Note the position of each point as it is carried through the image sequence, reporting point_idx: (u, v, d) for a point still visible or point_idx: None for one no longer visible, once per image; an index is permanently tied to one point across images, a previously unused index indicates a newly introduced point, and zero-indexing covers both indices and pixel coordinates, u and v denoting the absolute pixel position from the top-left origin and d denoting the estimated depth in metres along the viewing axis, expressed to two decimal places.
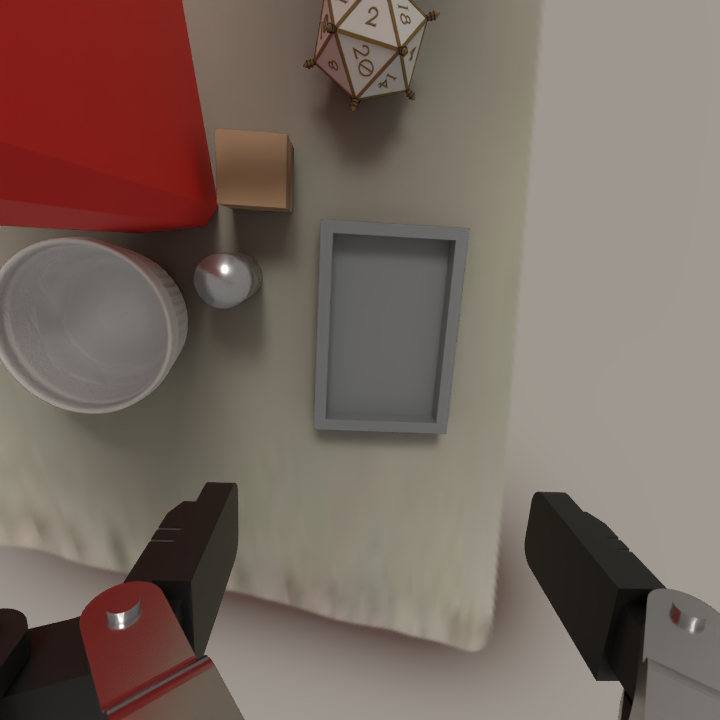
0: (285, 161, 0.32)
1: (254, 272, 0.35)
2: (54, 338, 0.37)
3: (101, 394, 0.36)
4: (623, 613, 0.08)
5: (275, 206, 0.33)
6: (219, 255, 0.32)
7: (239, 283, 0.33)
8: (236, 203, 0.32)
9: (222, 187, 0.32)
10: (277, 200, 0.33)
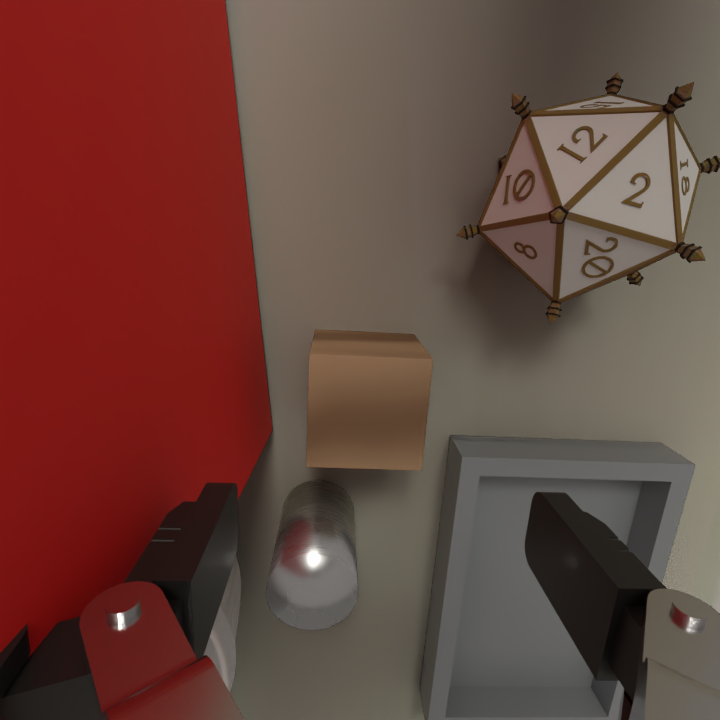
0: (427, 401, 0.18)
1: (354, 540, 0.22)
2: None
3: None
4: (623, 613, 0.08)
5: (404, 468, 0.19)
6: (310, 556, 0.19)
7: (342, 595, 0.19)
8: (339, 465, 0.19)
9: (317, 443, 0.19)
10: (408, 459, 0.19)
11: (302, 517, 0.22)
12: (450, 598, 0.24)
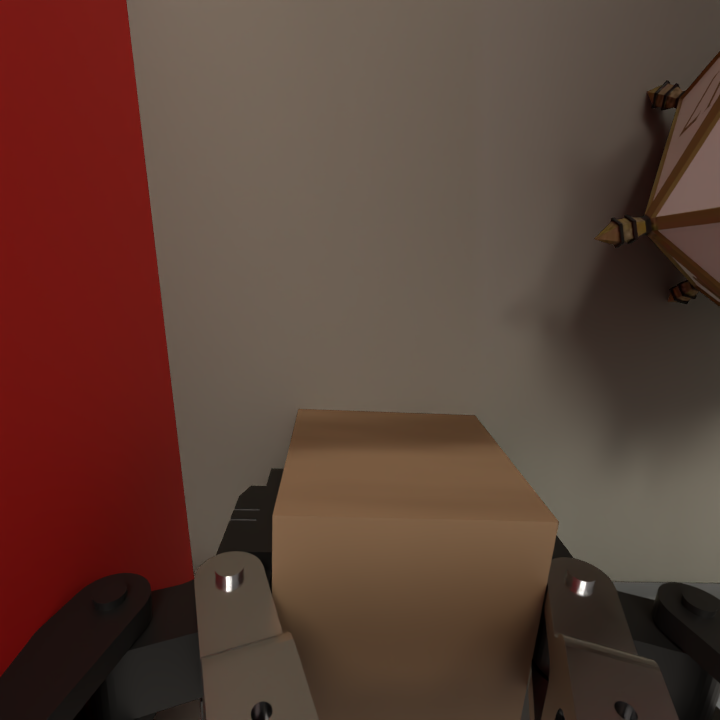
0: (538, 607, 0.08)
1: None
2: None
3: None
4: None
5: None
6: None
7: None
8: None
9: None
10: (490, 717, 0.09)
11: None
12: None
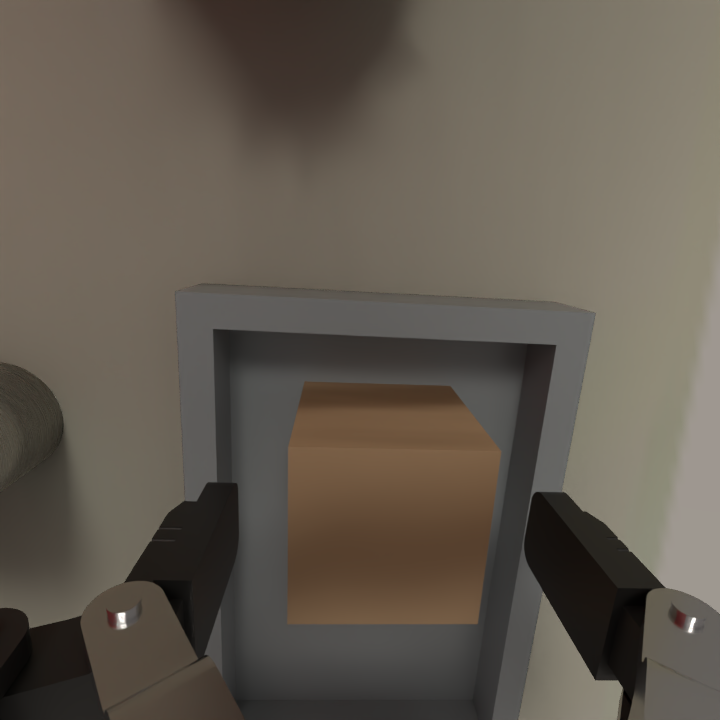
0: (488, 519, 0.11)
1: None
2: None
3: None
4: (622, 613, 0.08)
5: (448, 620, 0.12)
6: None
7: None
8: (342, 620, 0.12)
9: (305, 587, 0.11)
10: (456, 609, 0.12)
11: None
12: None
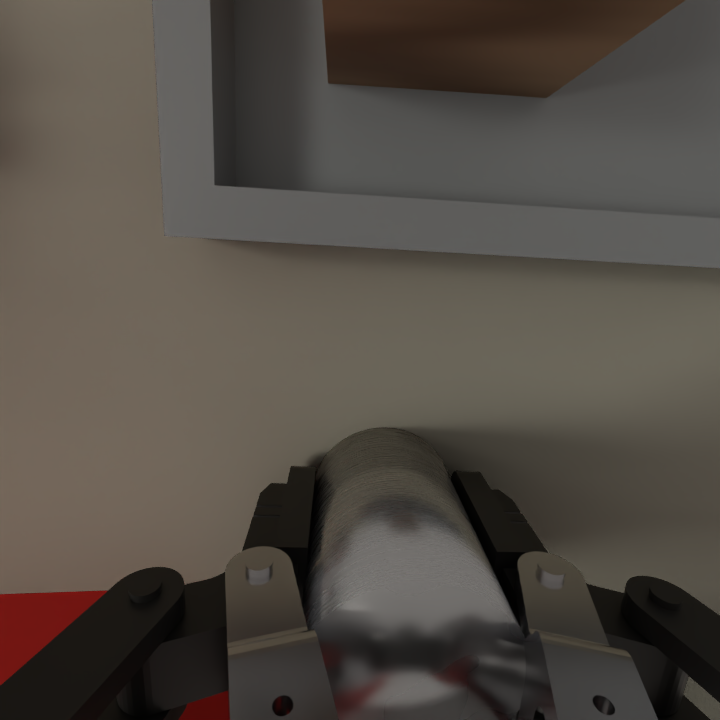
0: None
1: (374, 490, 0.10)
2: None
3: None
4: (504, 574, 0.09)
5: None
6: None
7: (425, 618, 0.07)
8: None
9: None
10: None
11: None
12: (581, 242, 0.09)
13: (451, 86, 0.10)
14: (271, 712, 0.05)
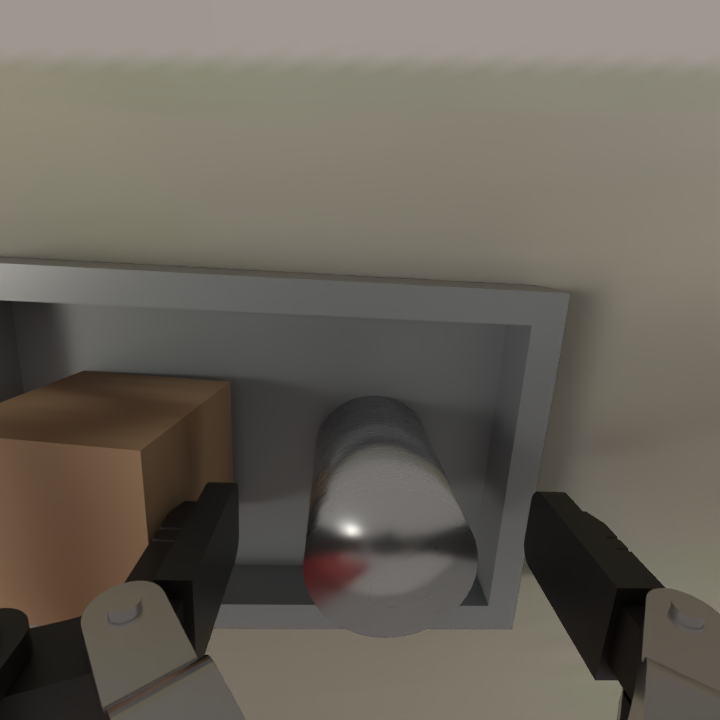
0: (2, 441, 0.10)
1: (364, 437, 0.12)
2: None
3: None
4: (623, 612, 0.08)
5: (141, 481, 0.10)
6: (309, 568, 0.10)
7: (399, 516, 0.10)
8: None
9: None
10: (120, 475, 0.10)
11: None
12: (241, 619, 0.15)
13: None
14: None
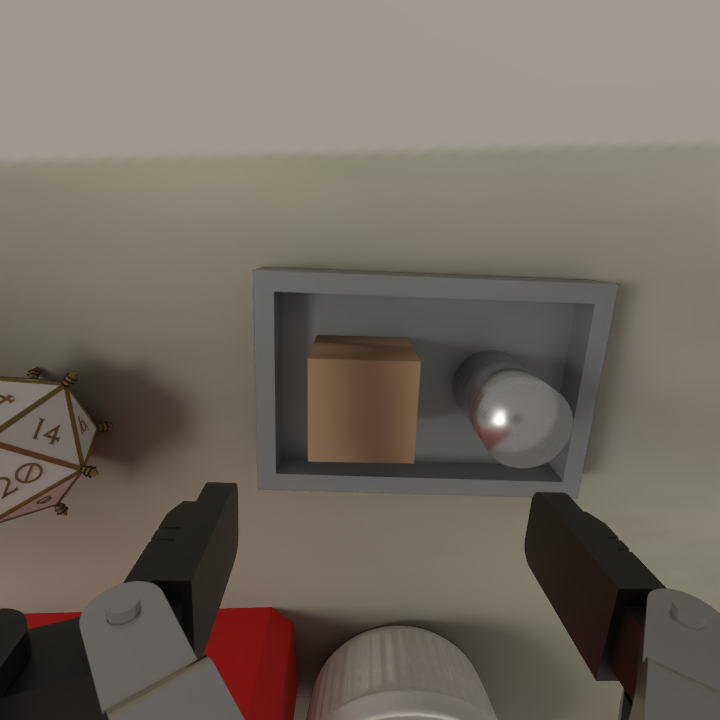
0: (349, 361, 0.20)
1: (499, 367, 0.22)
2: None
3: None
4: (624, 614, 0.08)
5: (418, 377, 0.20)
6: (484, 427, 0.19)
7: (533, 399, 0.19)
8: (413, 435, 0.21)
9: (390, 454, 0.21)
10: (409, 374, 0.20)
11: (467, 416, 0.22)
12: (409, 488, 0.25)
13: None
14: None
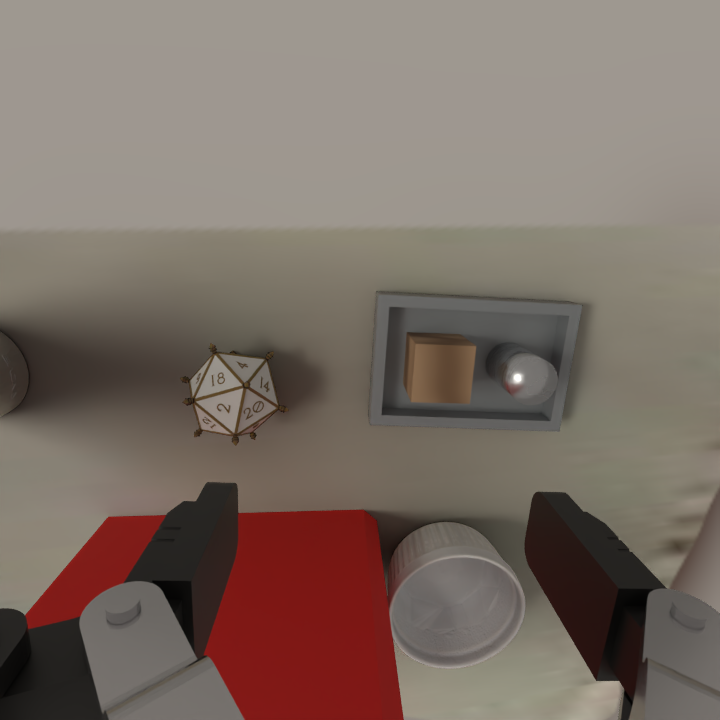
0: (437, 345, 0.36)
1: (516, 351, 0.38)
2: (457, 616, 0.48)
3: (508, 598, 0.44)
4: (624, 613, 0.08)
5: (474, 355, 0.37)
6: (511, 382, 0.36)
7: (537, 366, 0.36)
8: (470, 387, 0.37)
9: (457, 398, 0.37)
10: (469, 353, 0.36)
11: (498, 379, 0.39)
12: (460, 424, 0.41)
13: None
14: None
